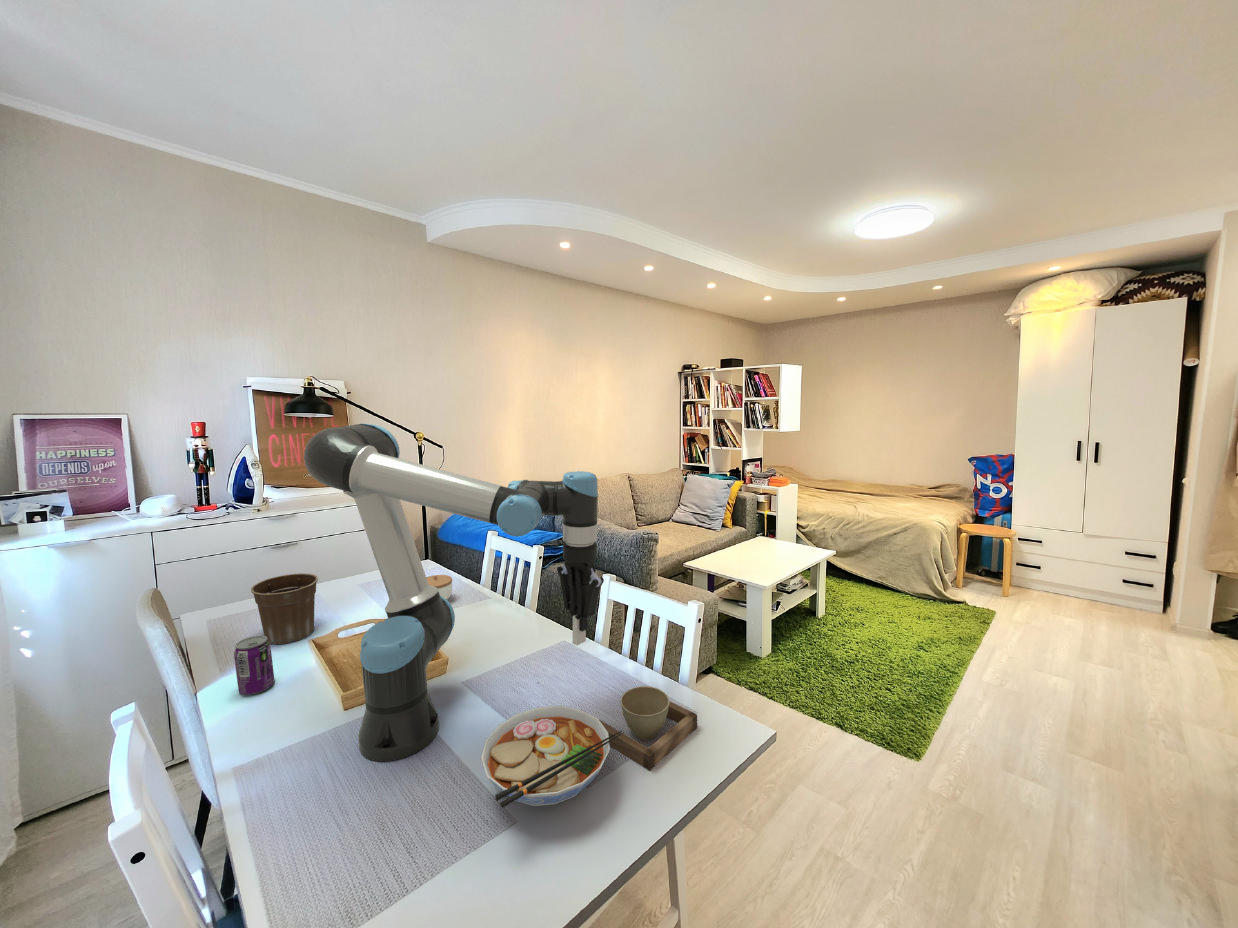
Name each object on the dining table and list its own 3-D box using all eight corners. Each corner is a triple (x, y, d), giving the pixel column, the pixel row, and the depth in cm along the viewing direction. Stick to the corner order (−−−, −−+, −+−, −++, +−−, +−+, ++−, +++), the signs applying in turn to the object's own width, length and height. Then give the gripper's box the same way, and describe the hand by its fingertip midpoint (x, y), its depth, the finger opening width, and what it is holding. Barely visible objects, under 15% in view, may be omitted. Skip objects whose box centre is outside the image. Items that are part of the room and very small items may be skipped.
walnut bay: (649, 770, 93) (649, 756, 93) (594, 736, 103) (593, 722, 102) (697, 727, 105) (697, 714, 105) (643, 700, 115) (643, 688, 114)
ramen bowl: (571, 721, 108) (570, 686, 106) (641, 785, 90) (641, 743, 89) (456, 777, 92) (454, 737, 91) (514, 868, 74) (512, 819, 73)
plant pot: (333, 621, 156) (328, 572, 154) (303, 648, 140) (297, 593, 138) (280, 623, 156) (274, 573, 153) (243, 649, 140) (236, 594, 137)
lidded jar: (430, 595, 176) (428, 569, 175) (458, 596, 175) (457, 570, 173) (413, 607, 166) (411, 580, 164) (444, 609, 164) (442, 582, 163)
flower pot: (644, 710, 111) (644, 680, 110) (679, 732, 104) (679, 700, 103) (611, 731, 104) (610, 699, 103) (645, 756, 97) (645, 722, 96)
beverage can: (278, 687, 121) (273, 641, 120) (242, 700, 116) (236, 652, 114) (270, 676, 126) (265, 631, 124) (235, 688, 121) (229, 642, 119)
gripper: (613, 544, 109) (611, 646, 113) (572, 532, 118) (571, 627, 121) (588, 552, 104) (587, 658, 107) (547, 539, 112) (547, 638, 116)
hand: (579, 642), depth 114 cm, fingers closed
